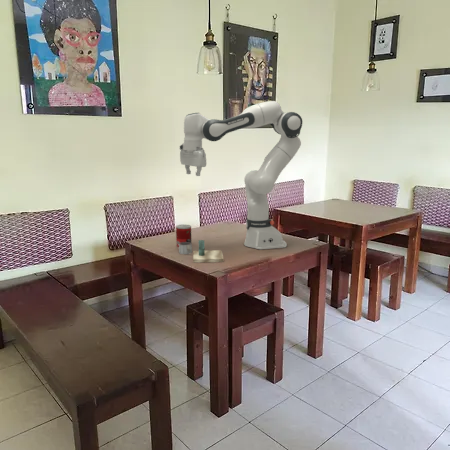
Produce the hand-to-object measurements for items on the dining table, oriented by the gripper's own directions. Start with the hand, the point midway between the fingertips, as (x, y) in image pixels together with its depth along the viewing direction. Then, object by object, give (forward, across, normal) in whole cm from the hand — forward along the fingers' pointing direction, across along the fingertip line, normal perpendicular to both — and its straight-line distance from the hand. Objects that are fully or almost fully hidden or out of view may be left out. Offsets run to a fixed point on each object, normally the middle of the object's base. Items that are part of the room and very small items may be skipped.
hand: (193, 175), depth 208 cm
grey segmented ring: (+38, -4, +7) cm, 39 cm away
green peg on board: (+38, -19, +3) cm, 42 cm away
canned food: (+38, +6, +3) cm, 39 cm away
